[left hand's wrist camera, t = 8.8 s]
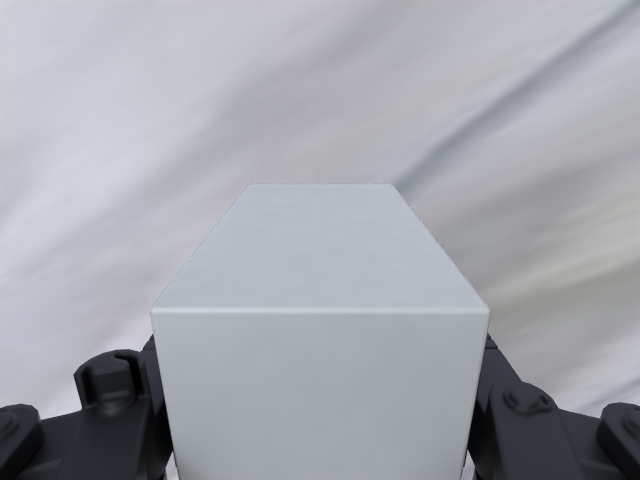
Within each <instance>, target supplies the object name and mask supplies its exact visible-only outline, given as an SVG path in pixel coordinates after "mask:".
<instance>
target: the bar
mask: <svg viewBox="0 0 640 480" xmlns="http://www.w3.org/2000/svg"><path fill="white" fill-rule="evenodd" d="M490 315H491V311H490V308H489V306H488V305H487V304H486V303H485V301H484V300H483V299H482V297H481V296H480V295H479V294H478V292H477V291H476V290H475V289H474V287H473V286H472V285H471V283H470V282H469V281H468V280H467V278H466V277H465V276H464V275H463V273H462V272H461V271H460V270H459V268H458V267H457V266H456V264H455V263H454V262H453V261H452V259H451V258H450V257H449V256H448V254H447V253H446V252H445V250H444V249H443V248H442V247H441V245H440V244H439V243H438V242H437V240H436V239H435V238H434V236H433V235H432V234H431V233H430V231H429V230H428V229H427V228H426V226H425V225H424V224H423V222H422V221H421V220H420V219H419V217H418V216H417V215H416V214H415V212H414V211H413V210H412V208H411V207H410V206H409V205H408V203H407V202H406V201H405V200H404V198H403V197H402V196H401V195H400V193H399V192H398V191H397V189H396V188H395V187H394V186H393V185H392V184H248V185H247V187H246V188H245V189H244V190H243V192H242V193H241V194H240V195H239V197H238V198H237V199H236V201H235V202H234V203H233V204H232V206H231V207H230V208H229V209H228V211H227V212H226V213H225V214H224V216H223V217H222V218H221V219H220V221H219V222H218V223H217V224H216V226H215V227H214V228H213V230H212V231H211V232H210V233H209V235H208V236H207V237H206V238H205V240H204V241H203V242H202V243H201V245H200V246H199V247H198V248H197V250H196V251H195V252H194V253H193V255H192V256H191V257H190V258H189V260H188V261H187V262H186V264H185V265H184V266H183V267H182V269H181V270H180V271H179V272H178V274H177V275H176V276H175V277H174V279H173V280H172V281H171V282H170V284H169V285H168V286H167V287H166V289H165V290H164V291H163V293H162V294H161V295H160V296H159V298H158V299H157V300H156V301H155V303H154V304H153V305H152V306H151V309H150V317H151V323H152V328H153V334H154V340H155V345H156V351H157V357H158V362H159V368H160V374H161V380H162V385H163V391H164V397H165V402H166V408H167V414H168V419H169V425H170V431H171V436H172V442H173V448H174V454H175V459H176V465H177V471H178V476H179V480H461V477H462V471H463V465H464V460H465V454H466V449H467V443H468V438H469V432H470V426H471V421H472V415H473V410H474V404H475V398H476V393H477V387H478V382H479V376H480V371H481V365H482V359H483V354H484V348H485V343H486V337H487V332H488V326H489V320H490Z"/></svg>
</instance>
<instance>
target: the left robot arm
mask: <svg viewBox="0 0 640 480" xmlns="http://www.w3.org/2000/svg"><path fill="white" fill-rule="evenodd" d="M74 379H75V383H76V386H77V390H78V394H79V397H80V401H81V405H82V409H81V410H80V411H77V412H74V413H70V414H66V415H61V416H57V417H53V418H48V419H44V420H41V419H40V416H39V413H38V410H36V409H35V408H34V407H33V406H32V405H25V404H17V405H10V406H5V407H3V408H0V480H167V474H166V469H165V468H166V465H167V463H168V460H169V458H170V456H171V453H172V451H173V453H174V448H173V442H172V436H171V431H170V425H169V419H168V414H167V408H166V402H165V397H164V391H163V385H162V380H161V374H160V368H159V362H158V357H157V351H156V345H155V340H154V334H152V336H151V337H150V339H149V341H148V342H147V343H146V344H145V346H144V347H143V351H141V352H140V353H139V352H138V351H134V350H130V349H123V350H114V351H110V352H106V353H102V354H100V355H98V356H96V357H93V358H91V359H90V360H88V361H87V362H85V363H84V364H83V365H81V366H80V367H79V368H78V370H77V371H76V372H75V373H74ZM467 449H468V451H469V453H470V455H471V458H472V460H473V463H474V465H475V469H474V474H473V480H640V406H637V405H634V404H628V403H621V402H619V403H612V404H608V405H607V406H606V407H605V408H604V409H603V411H602V414H601V417H600V419H599V418H595V417H590V416H586V415H582V414H577V413H573V412H569V411H565V410H562V409H559V408H558V407H557V405H556V404H555V402H554V401H553V399H552V398H551V397H550V396H549V395H548V394H546V393H545V392H544V391H543V390H541V389H539V388H537V387H535V386H533V385H531V384H529V383H526V382H522V381H521V379H520V378H519V377H518V375H517V374H516V372H515V371H514V369H513V368H512V367H511V365H510V364H509V362H508V361H507V359H506V358H505V357H504V355H503V354H502V352H501V351H500V349H498V347H497V345H496V344H495V342H494V341H493V340H491V337H490V335H489V334H488V332H487V337H486V343H485V348H484V354H483V359H482V365H481V371H480V376H479V382H478V387H477V393H476V398H475V404H474V410H473V415H472V421H471V426H470V432H469V438H468V443H467ZM467 449H466V454H465V460H464V465H463V467H464V466H465V461H466V455H467ZM174 459H175V454H174ZM175 465H176V459H175ZM176 467H177V465H176Z"/></svg>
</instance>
